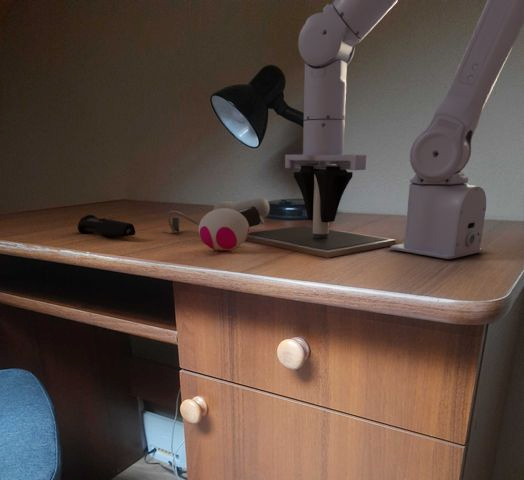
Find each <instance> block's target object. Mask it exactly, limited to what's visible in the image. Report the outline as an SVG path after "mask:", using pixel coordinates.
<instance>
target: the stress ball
mask: <svg viewBox="0 0 524 480" xmlns="http://www.w3.org/2000/svg"><path fill="white" fill-rule="evenodd" d="M197 222H199V223H200V224H199V225H198V228H197V229H198V231H197V232H198V237H199V239H200V240H201V241H202V242H203V244H204V245H205V246H207V247H208V248H210V249H212V250H215V251H212V252H210V254H213V253H217V252H219V251H221V252H226V251H227V252H228V251H232V250H234V249H237V248H239V247H240V246H242V245H243V244H244V243H245V241H247V240H246V239H247V237H248V234H249V233H250V227H249V224H248V222H247V220H246V218H245V217H244V216H243V215H242V214H241V213H239V212H237V211H235V210H232V209H227V208H221V209H216V210H214V209H213V210H211V211H209V212H207V213H206V214H204V216H203V217H202V218H201V220H199V219H197Z"/></svg>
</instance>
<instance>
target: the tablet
mask: <svg viewBox="0 0 524 480" xmlns="http://www.w3.org/2000/svg"><path fill="white" fill-rule="evenodd" d="M245 241H247V242H252V243H257V244H261V245H266V246H270V247H275V248H280V249H284V250H289V251H294V252H298V253H303V254H307V255H311V256H316V257H321V258H326V259H328V258H329V259H330V258H334V257H340V256H345V255H351V254H355V253H360V252H361V253H362V252H366V251H371V250H377V249H383V248H386V247H391V246H393V245H396V241H397V240H396V239H394V238H388V237H381V236H373V235H369V234H361V233H355V232H349V231H344V230H343V231H342V230H337V229H336V230H335V229H330V228H329V233H328V237H327V238H314V237H313V226H311V225H310V226H309V225H297V226H289V227H283V228H275V229H268V230H259V231H253V232H249V234H248V237H247V239H246V240H245Z"/></svg>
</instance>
